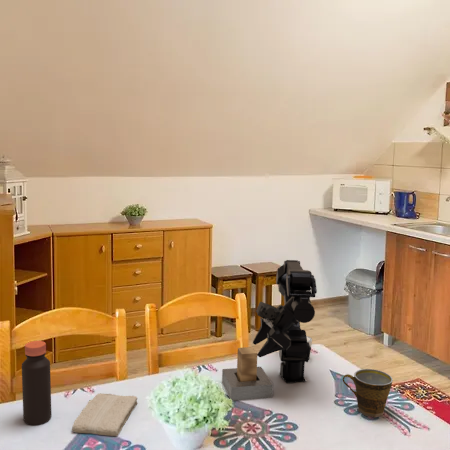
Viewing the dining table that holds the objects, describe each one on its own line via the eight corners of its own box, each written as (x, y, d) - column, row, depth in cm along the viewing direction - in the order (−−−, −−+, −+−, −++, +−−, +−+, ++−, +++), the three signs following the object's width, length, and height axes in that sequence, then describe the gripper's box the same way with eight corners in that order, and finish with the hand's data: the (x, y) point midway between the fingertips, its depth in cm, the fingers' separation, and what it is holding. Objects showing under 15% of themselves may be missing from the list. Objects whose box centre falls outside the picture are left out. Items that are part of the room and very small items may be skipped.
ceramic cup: (390, 406, 144) (393, 372, 143) (389, 424, 135) (392, 387, 133) (342, 397, 149) (345, 364, 147) (338, 414, 139) (340, 379, 138)
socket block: (260, 378, 159) (260, 366, 158) (272, 397, 147) (272, 384, 147) (222, 381, 156) (222, 369, 156) (231, 400, 145) (231, 387, 144)
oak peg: (251, 385, 155) (252, 346, 153) (255, 392, 150) (257, 353, 148) (236, 386, 154) (237, 347, 152) (240, 393, 149) (241, 354, 147)
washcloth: (139, 403, 143) (139, 392, 143) (118, 439, 125) (118, 427, 125) (97, 399, 144) (97, 389, 144) (71, 435, 127) (70, 423, 126)
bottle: (25, 428, 128) (22, 351, 125) (21, 415, 134) (19, 341, 131) (53, 422, 131) (51, 347, 128) (49, 409, 137) (47, 337, 134)
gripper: (266, 284, 159) (232, 321, 160) (278, 303, 140) (239, 345, 141) (292, 307, 161) (258, 343, 162) (307, 329, 142) (268, 370, 143)
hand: (255, 349), depth 152 cm, fingers open, 9 cm apart
